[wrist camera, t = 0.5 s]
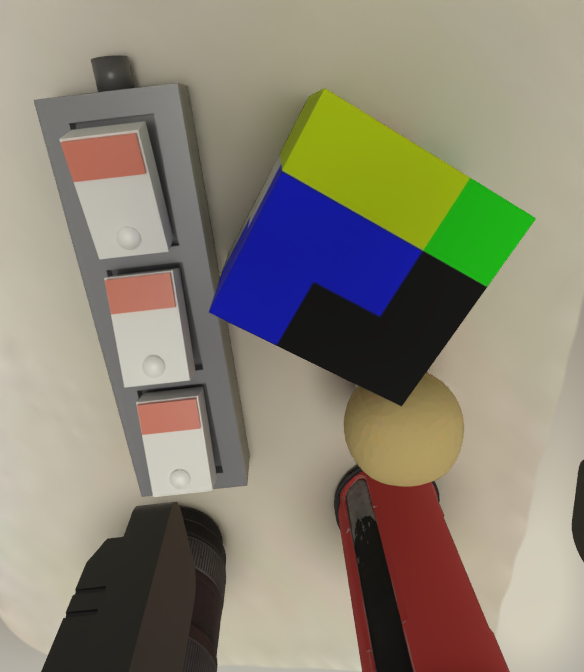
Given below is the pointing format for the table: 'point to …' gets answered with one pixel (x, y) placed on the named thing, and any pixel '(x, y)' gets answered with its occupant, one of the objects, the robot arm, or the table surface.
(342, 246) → the puzzle toy
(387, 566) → the speaker
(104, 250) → the rocker
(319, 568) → the table surface
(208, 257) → the power strip
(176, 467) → the rocker
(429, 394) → the beige rounded piece
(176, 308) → the rocker
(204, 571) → the camera lens
